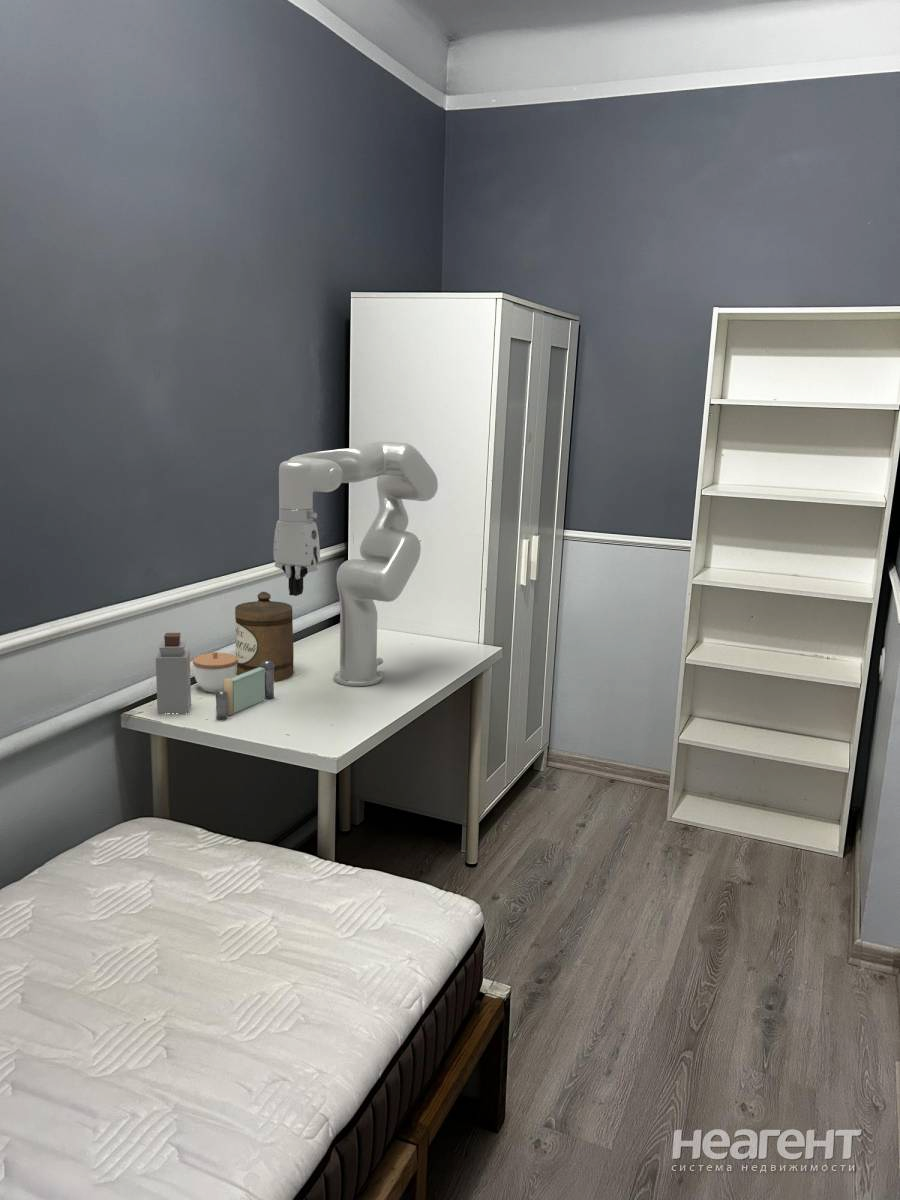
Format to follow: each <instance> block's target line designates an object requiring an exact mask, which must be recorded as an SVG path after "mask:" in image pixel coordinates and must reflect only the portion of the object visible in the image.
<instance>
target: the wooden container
mask: <svg viewBox="0 0 900 1200" xmlns="http://www.w3.org/2000/svg"><path fill="white" fill-rule="evenodd" d="M256 597H257V599H258V600H257V601H248V602H242V603H240V604H237V605H236V606H235V609H234V615H235V617H234V618H235V656H236V657H237V659H238V662H237V674H236V676H238V675H241V674H243V673H246V672H248V671H251V670H253V669H256V668H258V667H261V663H262V662H263V661H265V660H270V661H272V662H273V664H274V682H279V681H283V680H286V679H289V678H290V677H292V676H293V675H294V667H295V666H294V628H293V613H294V612H293V605H291V603H290V604H289V603H287V602H283V601H282V602H281V601H272V600H270V599H271V594H270V593H269V592H267V591H261V592H259V593H258V594H257V595H256Z"/></svg>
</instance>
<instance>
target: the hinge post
mask: <svg viewBox="0 0 900 1200" xmlns="http://www.w3.org/2000/svg"><path fill="white" fill-rule="evenodd" d="M261 668H265V701H266V700H267V701H269V700H273V699H274V698H275V685H274V684H275V681H274V664H273V662H272V661H270V660H265V661H263V662H262V663H261Z"/></svg>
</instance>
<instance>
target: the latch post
mask: <svg viewBox="0 0 900 1200" xmlns="http://www.w3.org/2000/svg"><path fill="white" fill-rule="evenodd" d="M215 702H216V703H215V704H216V705H215V708H216V709H215V710H216V711H215V714H216V717H215V718H216V720H217V721H226V720H228V715H227V693H226V692H225V691H218V692H215Z"/></svg>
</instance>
